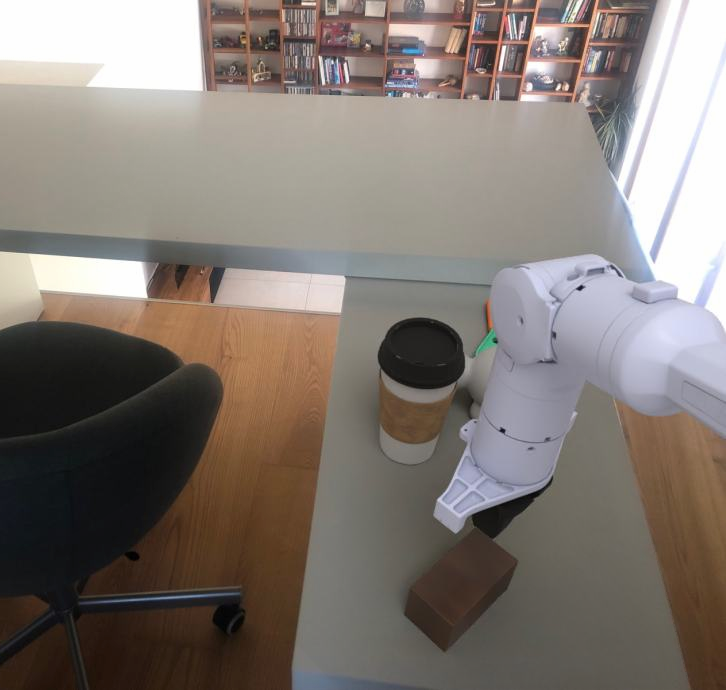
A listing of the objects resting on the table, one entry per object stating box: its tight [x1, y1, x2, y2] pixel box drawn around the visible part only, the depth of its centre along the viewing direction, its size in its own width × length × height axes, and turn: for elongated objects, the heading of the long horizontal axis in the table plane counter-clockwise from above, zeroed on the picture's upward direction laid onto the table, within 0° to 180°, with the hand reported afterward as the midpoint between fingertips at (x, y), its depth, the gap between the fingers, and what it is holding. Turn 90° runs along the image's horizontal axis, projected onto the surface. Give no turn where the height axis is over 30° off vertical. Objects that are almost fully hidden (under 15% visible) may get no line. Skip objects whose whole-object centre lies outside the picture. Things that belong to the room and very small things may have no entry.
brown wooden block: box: [403, 527, 519, 653], centre depth 60 cm, size 4×4×9 cm
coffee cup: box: [376, 316, 466, 466], centre depth 71 cm, size 8×8×15 cm
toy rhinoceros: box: [456, 346, 497, 420], centre depth 77 cm, size 7×12×8 cm, turn 68°
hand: (487, 527), depth 56 cm, fingers closed
